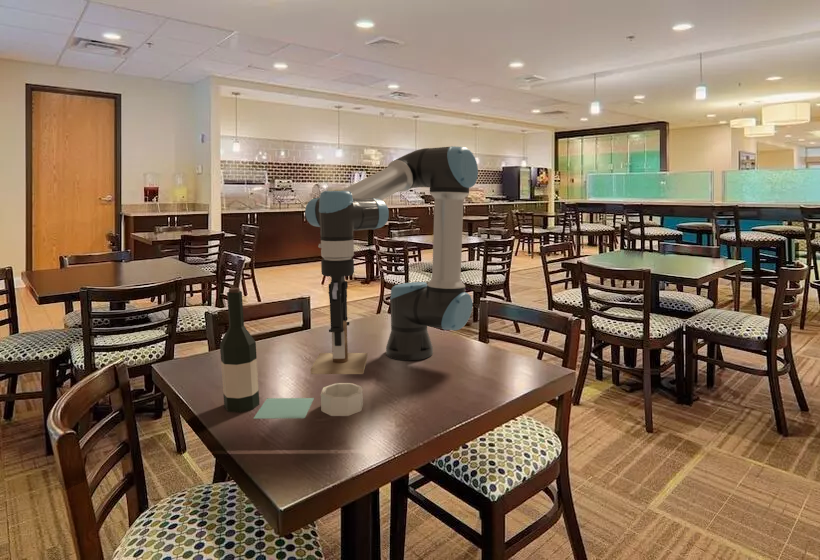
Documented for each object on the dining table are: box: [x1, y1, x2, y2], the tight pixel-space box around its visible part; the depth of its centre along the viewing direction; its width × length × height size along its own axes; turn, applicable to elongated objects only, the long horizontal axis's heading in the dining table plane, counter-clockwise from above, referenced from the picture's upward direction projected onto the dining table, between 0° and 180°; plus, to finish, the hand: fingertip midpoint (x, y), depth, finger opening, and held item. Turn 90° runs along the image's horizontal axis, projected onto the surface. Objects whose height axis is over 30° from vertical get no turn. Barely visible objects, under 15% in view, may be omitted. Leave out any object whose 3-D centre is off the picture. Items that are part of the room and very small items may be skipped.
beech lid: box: [310, 320, 369, 375], centre depth 128 cm, size 12×12×11 cm
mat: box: [253, 397, 315, 420], centre depth 131 cm, size 12×12×1 cm
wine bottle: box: [219, 287, 260, 414], centre depth 130 cm, size 8×8×30 cm
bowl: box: [320, 382, 364, 417], centre depth 130 cm, size 10×10×5 cm
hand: (340, 355), depth 128 cm, fingers closed on beech lid, 4 cm apart
